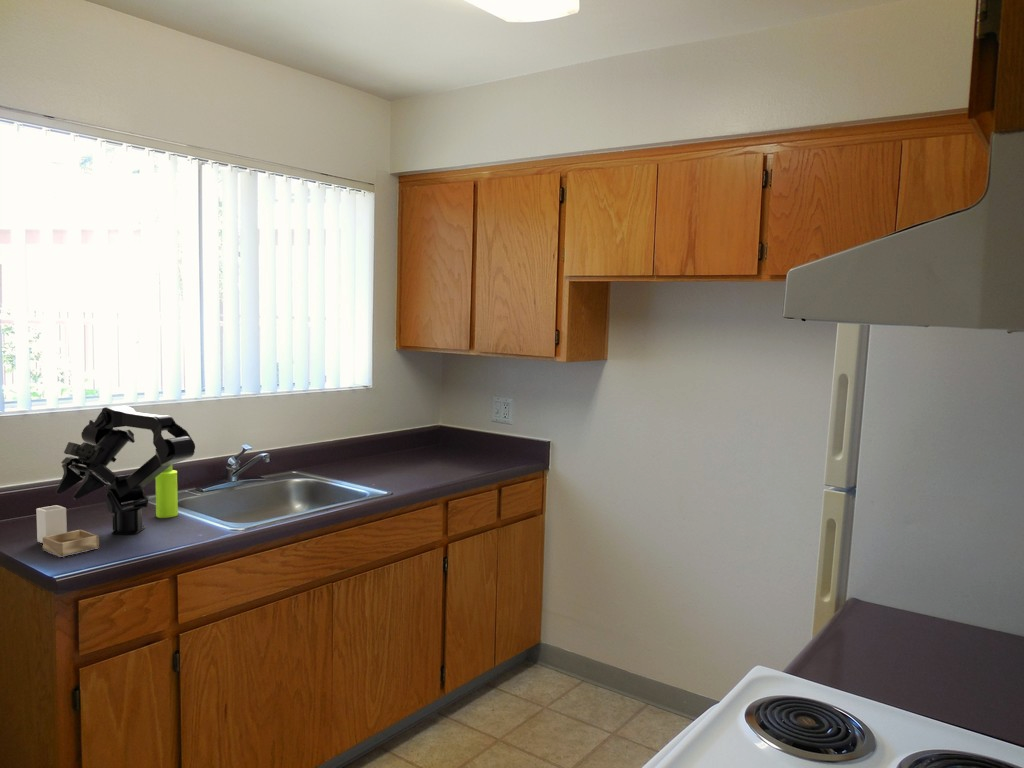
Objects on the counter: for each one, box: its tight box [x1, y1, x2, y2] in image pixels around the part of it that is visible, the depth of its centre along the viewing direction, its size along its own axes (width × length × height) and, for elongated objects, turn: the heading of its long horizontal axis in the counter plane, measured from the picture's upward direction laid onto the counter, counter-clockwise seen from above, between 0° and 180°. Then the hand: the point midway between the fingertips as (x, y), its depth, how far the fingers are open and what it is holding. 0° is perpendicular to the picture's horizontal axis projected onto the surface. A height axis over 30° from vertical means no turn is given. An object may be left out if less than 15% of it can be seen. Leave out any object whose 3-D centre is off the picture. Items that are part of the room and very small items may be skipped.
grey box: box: [35, 504, 68, 543], centre depth 196 cm, size 5×5×9 cm
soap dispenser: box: [154, 464, 179, 519], centre depth 225 cm, size 6×7×20 cm
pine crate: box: [42, 529, 100, 556], centre depth 190 cm, size 9×9×4 cm
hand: (65, 496), depth 198 cm, fingers open, 9 cm apart
